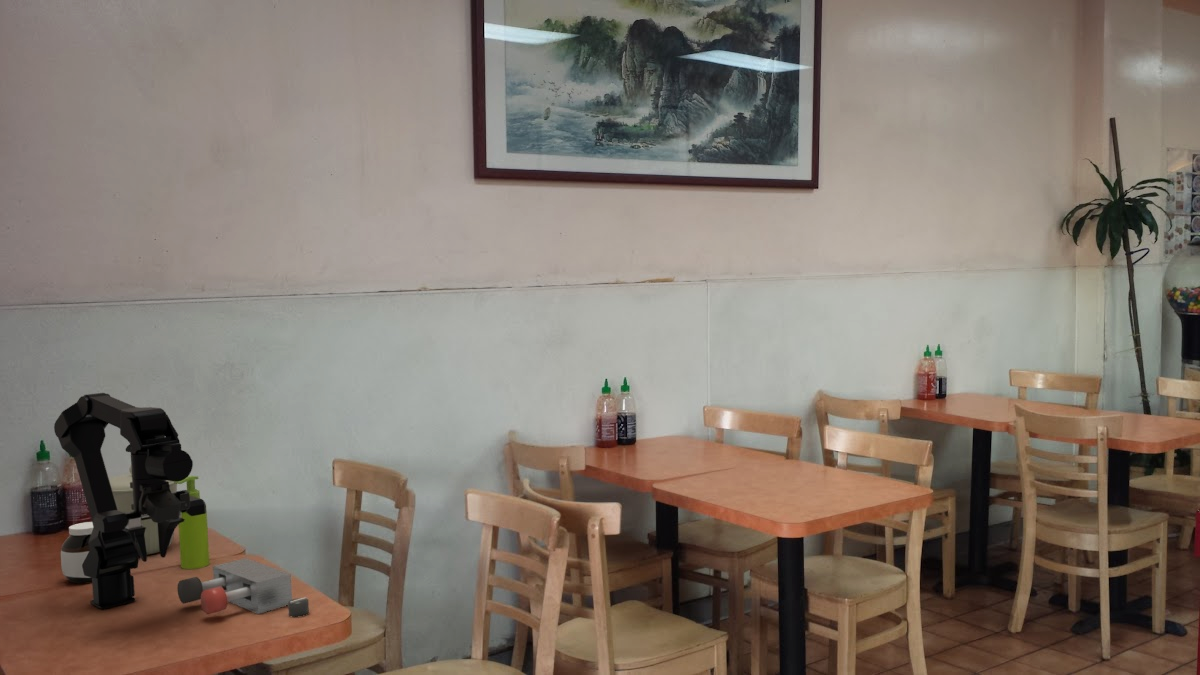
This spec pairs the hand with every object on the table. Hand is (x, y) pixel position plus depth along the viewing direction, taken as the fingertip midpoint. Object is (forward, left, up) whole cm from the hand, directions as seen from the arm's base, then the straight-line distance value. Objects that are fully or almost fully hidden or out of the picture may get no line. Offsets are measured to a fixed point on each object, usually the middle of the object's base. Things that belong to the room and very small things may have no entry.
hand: (153, 559), depth 186 cm
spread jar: (+2, +40, -11) cm, 42 cm away
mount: (+16, -5, -11) cm, 20 cm away
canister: (+18, +52, -11) cm, 56 cm away
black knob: (+11, 0, -10) cm, 15 cm away
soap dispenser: (+20, +29, -11) cm, 37 cm away
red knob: (+11, -10, -10) cm, 18 cm away
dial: (+18, -20, -11) cm, 29 cm away
